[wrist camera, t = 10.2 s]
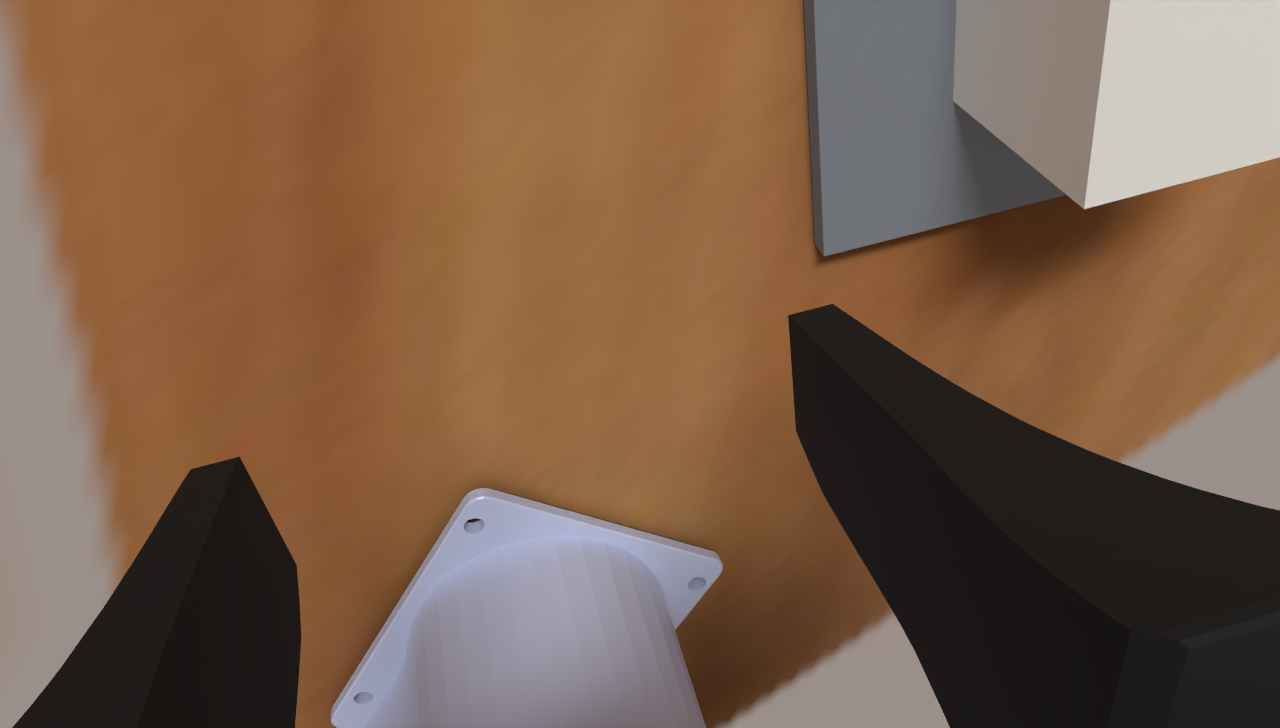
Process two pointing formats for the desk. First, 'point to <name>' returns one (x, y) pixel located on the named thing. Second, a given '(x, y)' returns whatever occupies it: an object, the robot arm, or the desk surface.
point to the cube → (1123, 88)
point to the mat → (898, 127)
